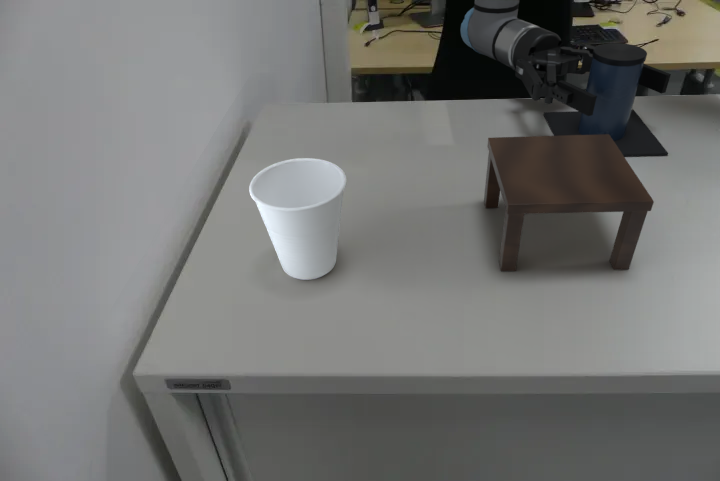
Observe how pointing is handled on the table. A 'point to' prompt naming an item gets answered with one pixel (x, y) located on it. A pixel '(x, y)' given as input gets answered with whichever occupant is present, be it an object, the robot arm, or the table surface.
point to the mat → (632, 144)
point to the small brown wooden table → (564, 187)
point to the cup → (301, 213)
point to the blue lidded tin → (612, 88)
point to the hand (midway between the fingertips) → (630, 94)
